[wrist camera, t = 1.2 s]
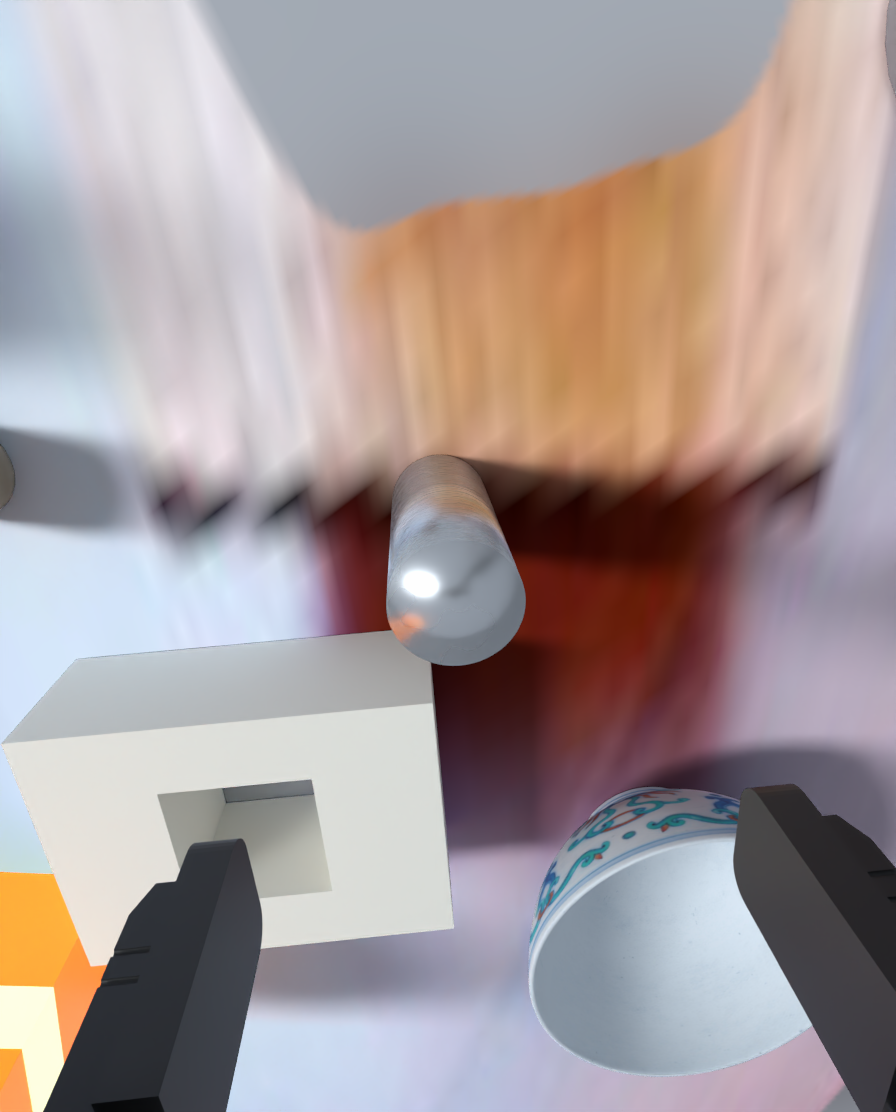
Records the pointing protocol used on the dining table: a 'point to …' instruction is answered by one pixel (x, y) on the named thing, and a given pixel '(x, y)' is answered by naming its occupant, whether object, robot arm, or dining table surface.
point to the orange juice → (38, 988)
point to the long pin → (450, 566)
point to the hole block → (244, 783)
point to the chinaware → (656, 942)
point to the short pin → (6, 478)
